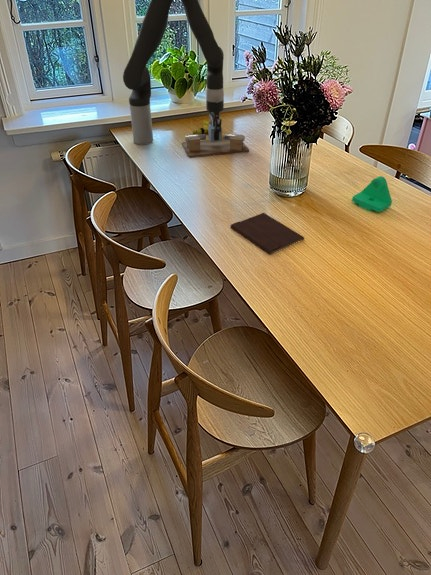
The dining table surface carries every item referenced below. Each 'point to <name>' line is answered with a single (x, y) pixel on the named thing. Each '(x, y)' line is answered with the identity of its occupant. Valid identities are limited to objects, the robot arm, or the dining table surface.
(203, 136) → the shaft
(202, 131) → the sprinkler
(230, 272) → the dining table surface
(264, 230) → the notebook
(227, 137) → the shaft
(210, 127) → the block
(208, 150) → the base board
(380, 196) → the green triangle
